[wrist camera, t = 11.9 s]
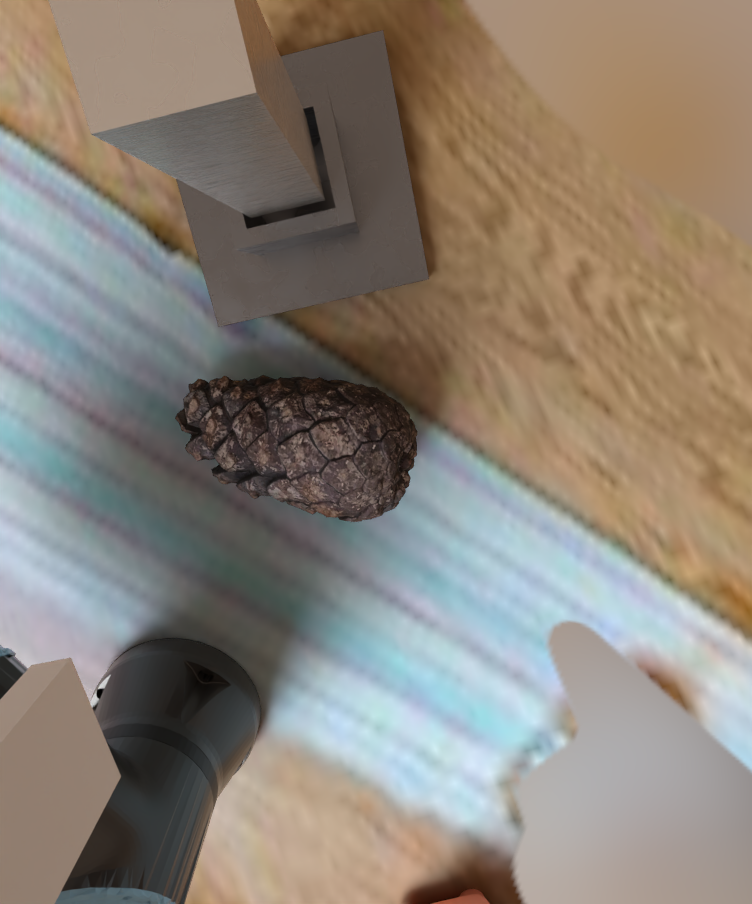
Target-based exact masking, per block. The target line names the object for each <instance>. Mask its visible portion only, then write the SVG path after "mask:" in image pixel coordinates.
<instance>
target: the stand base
mask: <svg viewBox="0 0 752 904" xmlns="http://www.w3.org/2000/svg"><path fill="white" fill-rule="evenodd" d="M280 57H281V59H282V61H283V64H284V66H285V68H286V71H287V73H288V75H289V78H290V80H291V82H292V85H293V87H294V89H295V92H296V94H297V96H298V99H299V101H300V103H301V106H302V108H303V110H304V112H305V115H306V118H307V122H308V127H309V131H310V135H311V140H312V144H313V149H314V153H315V158H316V162H317V167H318V171H319V176H320V180H321V184H322V189H323V193H324V198H325V200H324V201H320V202H316V203H312V204H307V205H303V206H299V207H295V208H291V209H287V210H282V211H278V212H274V213H270V214H266V215H261V216H257V217H253V218H251V217H249V216H247V215H245V214H243V213H241V212H239V211H237V210H235V209H234V208H232V207H230V206H228V205H226V204H224V203H222V202H220V201H218V200H216V199H214V198H212V197H211V196H209V195H207V194H205V193H203V192H201V191H199V190H197V189H195V188H193V187H191V186H189V185H188V184H186V183H184V182H182V181H180V180H178V179H176V180H177V184H178V187H179V190H180V194H181V197H182V201H183V204H184V208H185V211H186V215H187V218H188V222H189V225H190V229H191V232H192V236H193V239H194V243H195V246H196V250H197V253H198V256H199V260H200V263H201V267H202V270H203V274H204V277H205V281H206V284H207V288H208V291H209V295H210V298H211V302H212V305H213V309H214V312H215V316H216V319H217V323H218V326H219V327H220V326H224V325H229V324H233V323H238V322H242V321H246V320H251V319H255V318H260V317H264V316H268V315H273V314H277V313H282V312H286V311H291V310H295V309H299V308H304V307H308V306H313V305H317V304H321V303H326V302H330V301H335V300H339V299H343V298H348V297H352V296H357V295H361V294H366V293H370V292H374V291H379V290H383V289H388V288H392V287H396V286H401V285H405V284H410V283H414V282H418V281H423V280H427V279H429V276H428V271H427V265H426V260H425V255H424V249H423V244H422V238H421V233H420V228H419V222H418V217H417V211H416V206H415V200H414V195H413V190H412V184H411V179H410V173H409V168H408V163H407V157H406V152H405V146H404V141H403V136H402V130H401V125H400V119H399V114H398V109H397V103H396V98H395V92H394V87H393V82H392V76H391V71H390V65H389V60H388V55H387V49H386V44H385V38H384V33H383V30H382V31H378V32H374V33H370V34H366V35H362V36H358V37H354V38H350V39H347V40H343V41H339V42H335V43H331V44H327V45H323V46H319V47H315V48H311V49H307V50H303V51H300V52H296V53H292V54H288V55H284V56H280Z"/></svg>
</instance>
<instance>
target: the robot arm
mask: <svg viewBox="0 0 752 904" xmlns="http://www.w3.org/2000/svg"><path fill="white" fill-rule="evenodd" d="M15 654H16V653H15V652H13V651H12V650H11V649H8V648H3V647H2V646H1V645H0V904H185V901H186V897H187V894H188V891H189V888H190V884H191V881H192V878H193V874H194V871H195V868H196V865H197V861H198V858H199V855H200V852H201V848H202V845H203V842H204V839H205V835H206V832H207V829H208V826H209V822H210V819H211V816H212V812H213V809H214V806H215V803H216V800H217V798H218V796H219V795H220V793H221V792H222V791H223V789H224V788H225V786H226V785H227V783H228V782H229V781H230V779H231V778H232V776H233V775H234V774H235V773H236V772H237V771H238V770H239V769H240V768H241V766H242V765H243V764H244V762H245V761H246V760H247V758H248V756H249V754H250V752H251V750H252V748H253V745H254V742H255V739H256V735H257V731H258V728H259V724H260V716H261V709H260V702H259V697H258V694H257V691H256V689H255V687H254V684H253V683H252V681H251V679H250V678H249V676H248V675H247V674H246V672H245V671H244V670H243V669H242V668H241V667H240V666H239V665H238V664H237V663H236V662H235V661H234V660H232V659H231V658H230V657H228V656H227V655H226V654H224V653H222V652H221V651H219V650H217V649H215V648H213V647H210V646H208V645H205V644H202V643H199V642H195V641H191V640H184V639H160V640H154V641H150V642H146V643H143V644H140V645H138V646H136V647H133V648H132V649H130V650H128V651H127V652H125V653H124V654H122V655H121V656H120V657H119V658H118V659H117V660H115V662H114V663H113V664H112V665H111V666H110V668H109V669H108V670H107V672H106V673H105V675H104V676H103V678H102V679H101V681H100V682H99V684H98V685H97V687H96V689H95V691H94V693H93V696H92V699H91V702H89V700H88V697H87V695H86V692H85V690H84V688H83V685H82V683H81V681H80V678H79V676H78V674H77V671H76V669H75V666H74V664H73V662H72V659H71V658H67V659H62V660H57V661H51V662H46V663H41V664H36V665H31V666H30V667H29V669H28V668H26V667H25V666H24V665H23V664H22V663H21V662H20V661H19V660H18V659H17V658H16V657H15Z"/></svg>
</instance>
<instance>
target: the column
mask: <svg viewBox="0 0 752 904" xmlns="http://www.w3.org/2000/svg"><path fill="white" fill-rule="evenodd" d="M48 1H49V4H50V7H51V10H52V13H53V16H54V19H55V23H56V26H57V29H58V32H59V35H60V38H61V41H62V44H63V48H64V51H65V54H66V57H67V60H68V63H69V66H70V70H71V73H72V76H73V79H74V82H75V85H76V88H77V92H78V95H79V98H80V101H81V104H82V107H83V110H84V113H85V117H86V120H87V123H88V126H89V129H90V132H91V134H92V135H94V136H96V137H98V138H99V139H101V140H103V141H105V142H107V143H109V144H111V145H113V146H115V147H117V148H119V149H120V150H122V151H124V152H126V153H128V154H130V155H132V156H134V157H136V158H138V159H140V160H142V161H143V162H145V163H147V164H149V165H151V166H153V167H155V168H157V169H159V170H161V171H163V172H165V173H166V174H168V175H170V176H172V177H174V178H176V179H178V180H180V181H182V182H184V183H186V184H188V185H189V186H191V187H193V188H195V189H197V190H199V191H201V192H203V193H205V194H207V195H209V196H211V197H212V198H214V199H216V200H218V201H220V202H222V203H224V204H226V205H228V206H230V207H232V208H234V209H235V210H237V211H239V212H241V213H243V214H245V215H247V216H249V217H251V218H253V217H257V216H261V215H266V214H270V213H274V212H278V211H282V210H287V209H291V208H295V207H299V206H303V205H307V204H312V203H316V202H320V201H324V200H325V198H324V193H323V189H322V184H321V180H320V176H319V171H318V167H317V162H316V158H315V153H314V149H313V144H312V140H311V135H310V131H309V127H308V122H307V118H306V115H305V112H304V110H303V108H302V106H301V103H300V101H299V99H298V96H297V94H296V92H295V89H294V87H293V85H292V82H291V80H290V78H289V75H288V73H287V71H286V68H285V66H284V64H283V61H282V59H281V57H280V54H279V52H278V50H277V47H276V45H275V43H274V40H273V38H272V36H271V34H270V31H269V29H268V27H267V24H266V22H265V20H264V17H263V15H262V13H261V10H260V8H259V6H258V3H257V1H256V0H48Z"/></svg>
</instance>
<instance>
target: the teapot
mask: <svg viewBox="0 0 752 904" xmlns="http://www.w3.org/2000/svg"><path fill="white" fill-rule="evenodd" d="M431 904H490V903H489V902H488V900H487V899H486V898H485V897H484V895H483V894H482V892H480V891H479V890H476V889H468V890H465V891H463V892H462V893H461V894H460V896H459V897H457V898H452V899H448V900H443V901H439V902H435V903H431Z"/></svg>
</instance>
